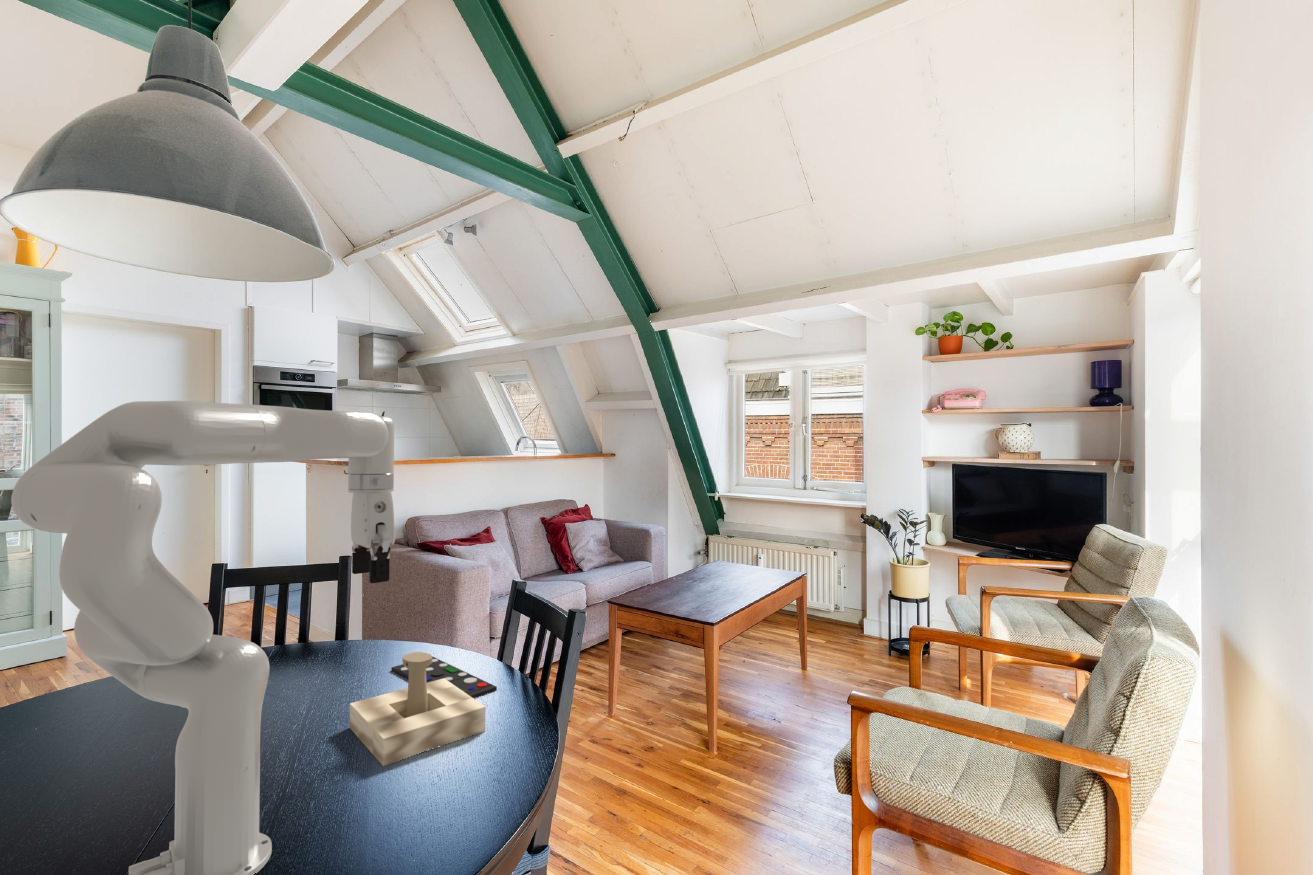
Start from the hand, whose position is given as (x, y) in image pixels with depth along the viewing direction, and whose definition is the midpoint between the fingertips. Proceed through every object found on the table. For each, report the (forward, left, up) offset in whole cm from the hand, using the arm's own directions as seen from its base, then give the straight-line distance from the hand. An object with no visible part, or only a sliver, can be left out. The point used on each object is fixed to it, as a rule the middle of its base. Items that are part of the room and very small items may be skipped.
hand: (370, 577), depth 110 cm
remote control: (+27, +30, -35) cm, 53 cm away
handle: (+12, +8, -34) cm, 37 cm away
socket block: (+12, +8, -34) cm, 37 cm away
